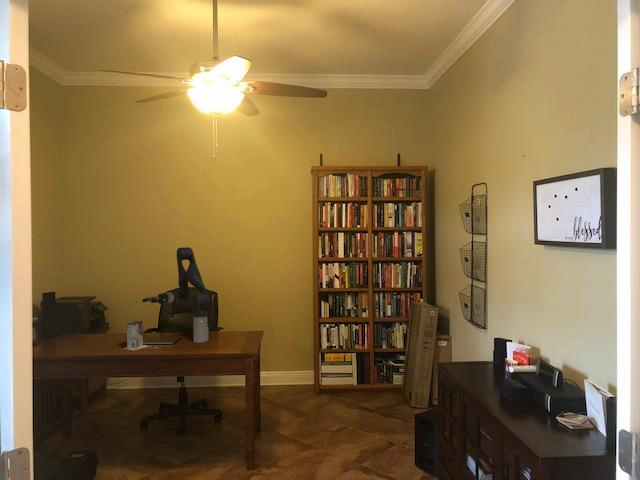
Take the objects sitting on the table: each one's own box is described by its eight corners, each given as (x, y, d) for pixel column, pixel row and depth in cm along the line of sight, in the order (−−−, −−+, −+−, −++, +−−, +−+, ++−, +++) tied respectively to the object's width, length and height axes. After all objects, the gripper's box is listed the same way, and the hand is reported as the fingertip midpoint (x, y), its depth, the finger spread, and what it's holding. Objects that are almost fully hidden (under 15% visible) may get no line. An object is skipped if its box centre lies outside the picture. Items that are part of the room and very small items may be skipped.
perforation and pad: (141, 344, 307) (141, 343, 307) (157, 347, 299) (157, 346, 299) (124, 348, 295) (124, 347, 295) (141, 352, 288) (141, 351, 288)
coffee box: (133, 345, 303) (133, 320, 302) (143, 345, 302) (143, 321, 302) (126, 348, 294) (126, 323, 293) (136, 348, 293) (136, 323, 293)
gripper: (158, 292, 332) (139, 294, 317) (172, 293, 324) (154, 296, 310) (158, 302, 332) (139, 305, 318) (172, 304, 325) (154, 307, 310)
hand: (146, 301), depth 314 cm, fingers open, 8 cm apart
